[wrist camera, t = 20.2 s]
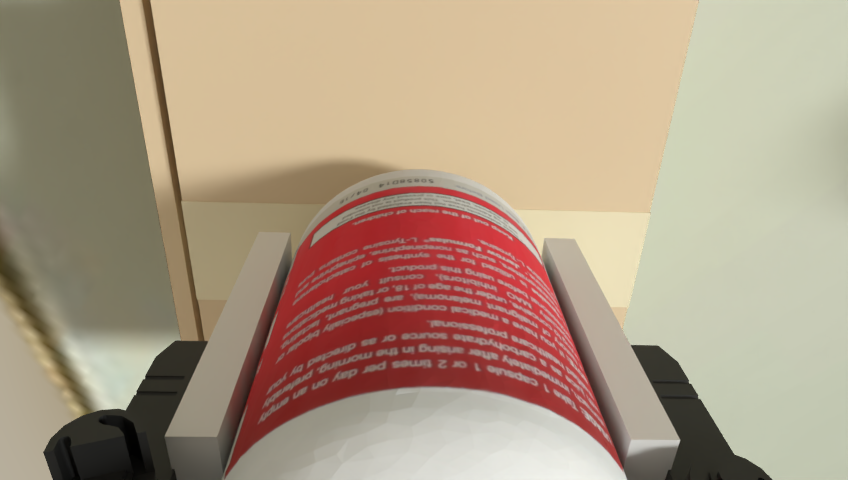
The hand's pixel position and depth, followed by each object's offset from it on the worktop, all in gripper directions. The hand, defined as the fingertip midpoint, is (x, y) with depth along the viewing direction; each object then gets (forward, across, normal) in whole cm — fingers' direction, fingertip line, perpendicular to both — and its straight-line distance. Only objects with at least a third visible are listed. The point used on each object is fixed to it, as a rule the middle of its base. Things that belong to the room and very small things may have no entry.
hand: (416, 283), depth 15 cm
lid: (+3, 0, 0) cm, 3 cm away
